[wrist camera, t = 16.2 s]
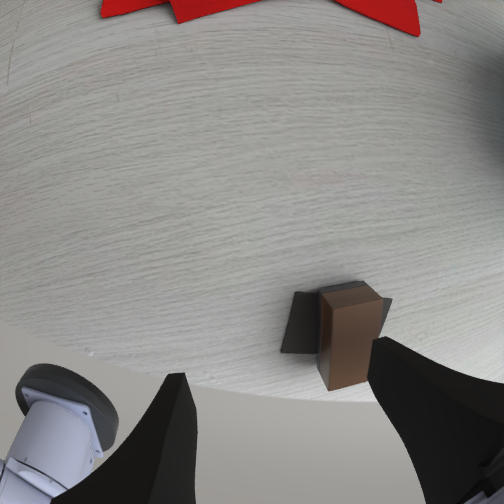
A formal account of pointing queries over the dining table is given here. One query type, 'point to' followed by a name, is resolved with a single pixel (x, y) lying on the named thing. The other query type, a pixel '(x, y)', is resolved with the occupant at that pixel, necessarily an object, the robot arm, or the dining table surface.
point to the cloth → (204, 3)
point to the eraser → (346, 332)
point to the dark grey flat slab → (310, 324)
